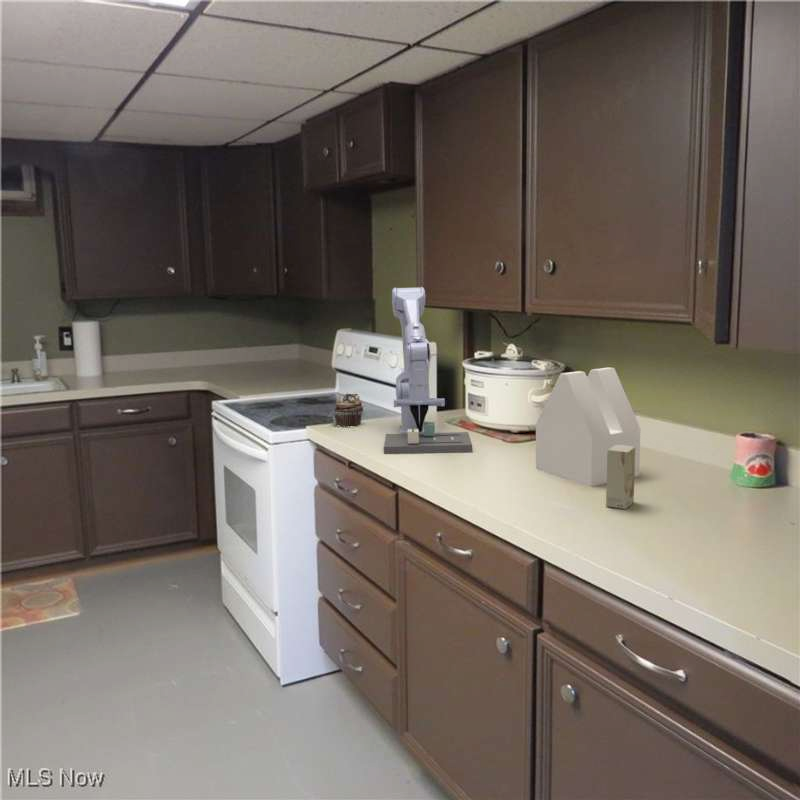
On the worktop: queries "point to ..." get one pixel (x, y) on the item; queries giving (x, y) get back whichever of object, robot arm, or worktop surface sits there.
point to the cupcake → (348, 410)
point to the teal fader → (429, 429)
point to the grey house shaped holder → (585, 426)
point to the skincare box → (620, 476)
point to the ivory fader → (413, 436)
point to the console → (428, 443)
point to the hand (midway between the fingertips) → (419, 431)
